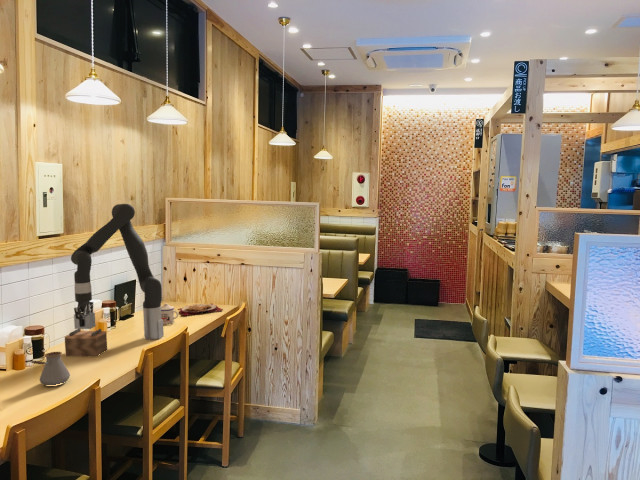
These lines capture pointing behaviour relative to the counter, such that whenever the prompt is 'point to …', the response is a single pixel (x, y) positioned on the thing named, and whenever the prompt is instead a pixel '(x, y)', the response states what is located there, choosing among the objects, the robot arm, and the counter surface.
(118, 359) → the counter surface
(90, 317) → the lock block
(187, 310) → the plate with food
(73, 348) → the coupler stand
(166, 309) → the teacup with lid
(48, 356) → the coffee pot
